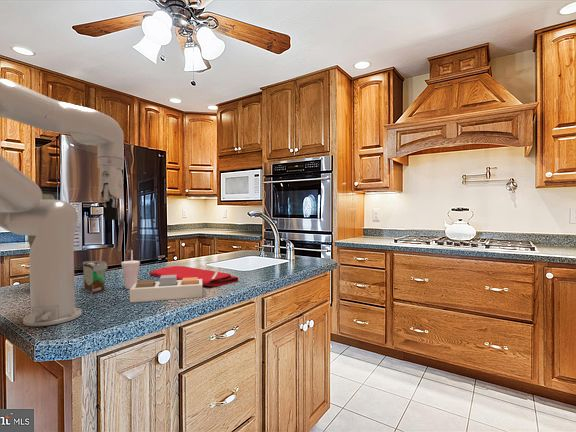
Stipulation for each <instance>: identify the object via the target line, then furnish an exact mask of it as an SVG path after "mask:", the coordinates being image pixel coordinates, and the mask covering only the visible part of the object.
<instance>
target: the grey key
mask: <svg viewBox="0 0 576 432" xmlns="http://www.w3.org/2000/svg"><path fill="white" fill-rule="evenodd" d="M159 281H160V286H173V285H177V275H161V277H159Z"/></svg>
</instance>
